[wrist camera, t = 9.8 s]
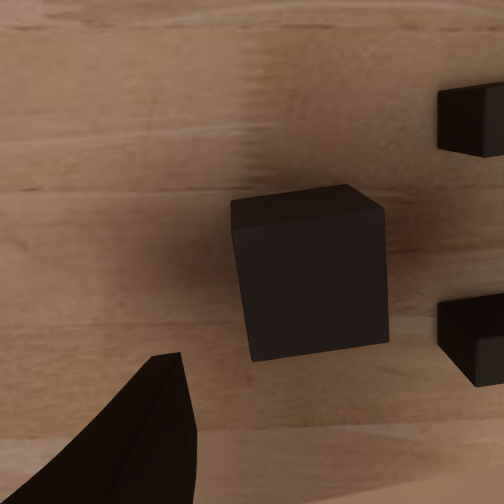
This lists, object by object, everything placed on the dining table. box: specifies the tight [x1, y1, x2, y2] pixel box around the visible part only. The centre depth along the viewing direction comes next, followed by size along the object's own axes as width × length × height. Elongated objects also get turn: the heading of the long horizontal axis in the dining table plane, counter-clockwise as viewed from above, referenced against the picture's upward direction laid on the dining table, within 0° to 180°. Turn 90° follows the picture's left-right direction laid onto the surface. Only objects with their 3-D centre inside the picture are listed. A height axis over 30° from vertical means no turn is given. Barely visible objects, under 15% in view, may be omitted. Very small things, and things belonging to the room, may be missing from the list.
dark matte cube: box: [231, 184, 389, 362], centre depth 15 cm, size 4×4×4 cm
